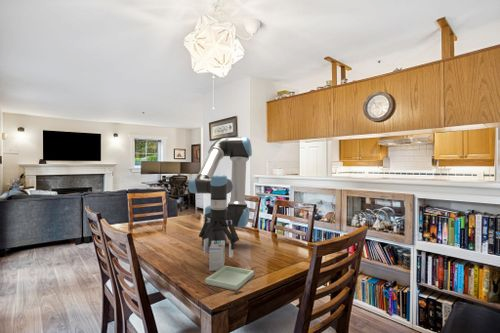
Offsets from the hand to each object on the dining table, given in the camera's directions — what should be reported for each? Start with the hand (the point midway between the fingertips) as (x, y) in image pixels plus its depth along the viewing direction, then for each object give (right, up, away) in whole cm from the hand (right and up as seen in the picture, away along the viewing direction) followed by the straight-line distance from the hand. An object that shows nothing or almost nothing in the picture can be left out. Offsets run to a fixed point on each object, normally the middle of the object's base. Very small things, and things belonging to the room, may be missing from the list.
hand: (218, 254), depth 127 cm
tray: (+7, -6, -14) cm, 16 cm away
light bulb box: (-1, -6, +1) cm, 6 cm away
